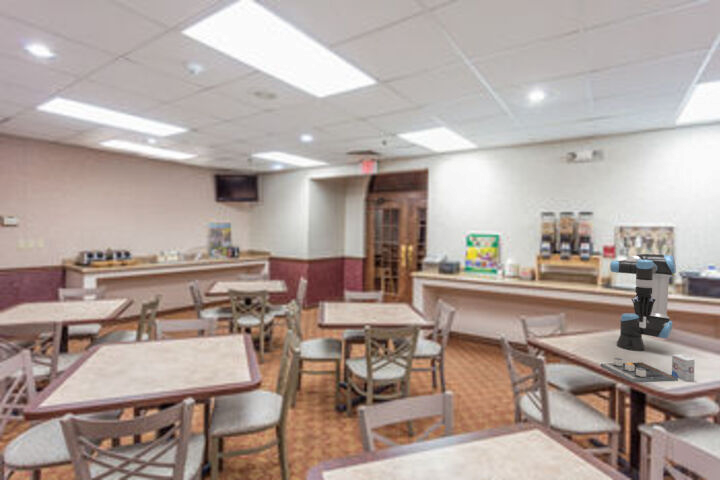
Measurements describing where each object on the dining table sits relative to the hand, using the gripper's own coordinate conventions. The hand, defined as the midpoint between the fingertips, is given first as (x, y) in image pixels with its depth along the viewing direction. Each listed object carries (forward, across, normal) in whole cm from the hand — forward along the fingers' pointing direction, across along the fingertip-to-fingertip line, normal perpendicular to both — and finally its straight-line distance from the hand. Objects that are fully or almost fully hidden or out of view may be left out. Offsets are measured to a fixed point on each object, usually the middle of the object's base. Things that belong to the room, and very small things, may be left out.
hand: (642, 327), depth 204 cm
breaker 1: (+23, +12, -3) cm, 26 cm away
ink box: (+25, -12, +13) cm, 30 cm away
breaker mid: (+22, +12, +5) cm, 26 cm away
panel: (+24, +7, +5) cm, 26 cm away
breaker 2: (+23, +12, +12) cm, 28 cm away
